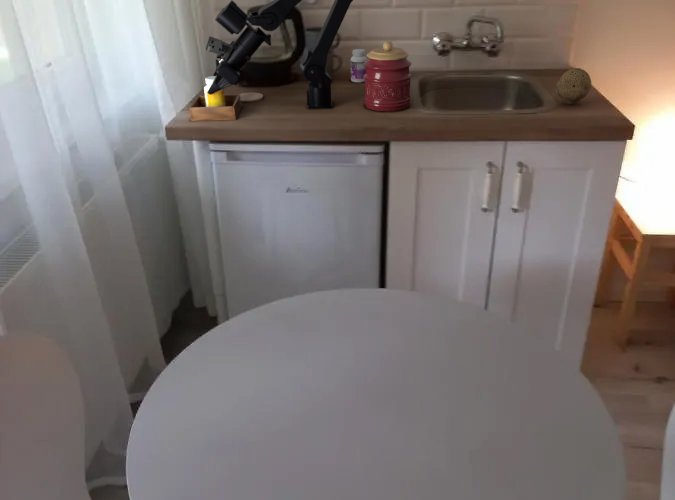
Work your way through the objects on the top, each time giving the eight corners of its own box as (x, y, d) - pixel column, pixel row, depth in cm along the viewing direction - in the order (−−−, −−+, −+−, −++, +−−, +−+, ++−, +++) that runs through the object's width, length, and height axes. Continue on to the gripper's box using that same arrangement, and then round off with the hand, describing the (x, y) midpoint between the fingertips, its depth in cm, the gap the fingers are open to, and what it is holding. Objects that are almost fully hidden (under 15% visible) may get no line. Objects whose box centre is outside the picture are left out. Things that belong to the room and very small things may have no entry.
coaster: (264, 93, 192) (264, 92, 192) (261, 101, 184) (261, 100, 184) (235, 94, 192) (235, 92, 192) (231, 102, 185) (231, 101, 184)
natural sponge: (589, 110, 169) (596, 72, 164) (555, 108, 171) (560, 71, 166) (586, 100, 176) (592, 64, 171) (553, 99, 178) (558, 63, 173)
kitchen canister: (395, 96, 185) (396, 34, 176) (418, 107, 175) (421, 42, 166) (356, 103, 180) (355, 39, 172) (377, 114, 170) (378, 48, 161)
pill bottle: (348, 79, 205) (348, 49, 200) (363, 77, 206) (363, 47, 201) (353, 83, 200) (353, 52, 195) (369, 81, 201) (369, 50, 197)
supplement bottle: (203, 112, 176) (198, 77, 171) (220, 108, 179) (216, 74, 174) (213, 116, 172) (208, 81, 167) (229, 112, 175) (226, 77, 170)
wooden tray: (241, 106, 181) (240, 94, 179) (235, 119, 170) (234, 106, 168) (199, 107, 181) (197, 95, 179) (190, 120, 170) (188, 107, 168)
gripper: (220, 19, 173) (185, 63, 176) (221, 31, 157) (183, 79, 160) (252, 47, 178) (217, 89, 181) (256, 61, 161) (218, 107, 165)
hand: (208, 90), depth 172 cm, fingers open, 6 cm apart
